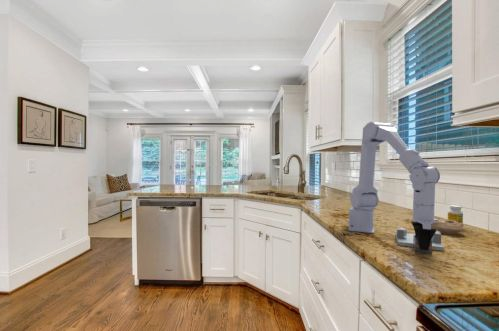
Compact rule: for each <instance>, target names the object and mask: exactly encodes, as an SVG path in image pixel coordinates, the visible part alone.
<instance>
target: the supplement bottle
mask: <svg viewBox="0 0 499 331" xmlns="http://www.w3.org/2000/svg"><path fill="white" fill-rule="evenodd" d="M447 220H453V221H456V222H459V223H462V224H464V213H463V211H462V206H460V205H456V204H455V205H453V204H450V205H449V209H448V211H447Z"/></svg>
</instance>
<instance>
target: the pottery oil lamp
mask: <svg viewBox="0 0 499 331" xmlns="http://www.w3.org/2000/svg"><path fill="white" fill-rule="evenodd" d="M464 226H465V225H464V223H463V224H462V223H459V222H456V221H453V220H448V219H447V220H439V222H434V223H432V225H431V228H432V229H436V231H439V232H440V233H441V234H445V235H455V234H458V233H461V232H462V231H464V230H465V229H466V228H465V227H464Z"/></svg>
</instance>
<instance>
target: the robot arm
mask: <svg viewBox="0 0 499 331" xmlns="http://www.w3.org/2000/svg"><path fill="white" fill-rule="evenodd" d="M397 129H398V128H396V127H395V126H394V125H393V123H392V122H390V123H389V122H385V123H384V122H373V121H369V122H367V123H366V124H365V126H363V128H362V136H361V137H362V138H361V139H362V140H361V147H360V148H361V150H360V161H359V162H360V163H359V175H358V176H359V177H358V180H359V181H358V184H357V185H356V186H355V187H353V189H352V193H351V195H350V198H349V201H350V205H351V207H349V211H348V223H347V224H348V231H351V232H359V233H360V232H361V233H367V234H375V227H374V218H375V217H374V213H375V212H374V210H375V209H376V207H377V206H378V204H379V201H380V199H379V195H378V192H379V191H378V189H377V188H376V187H375V186H374V178H375V165H376V153H377V152H376V151H377V147H378V146H379V145H380V144H382V143H385V142H387V143H388V144H389V145H390V147H392V149H393V150H394V151H395V152H396V153H397V154H398V155H399V157H398V160H399V162H400V163H401V164H402V165H403V167H404V168H405V169H406V170H407V171H408V173H409V175H408V177H409V180H410V182H411V184H412V186H411V188H412V189H413V196H412V197H413V204H412V217H411V220H412V221H411V222H410V223H411V224H412V227H413V230H414V234H415V235H418V241H419V247H420V250H427V251H428V249H429V246H430V243H431V240H432V237H433V235H434V234H435V233H436V231H437V230H436V229H432V228H431V225H432V223H434V222H439V221H440V220H439V219H438V218H435V202H436V199H435V198H436V184H437V183H439V181H440V178H441V173H440V170H438V168H437V167H436V166H432V165H430V164H429V163H428V161H426V160H425V159H423V157H422V156H421V155H420V151H419V150H415V149H413V148H411V149H410V148H409V147H408V146H407V144H406V143H405V141H404V140H403V139H402V138H401V135H399V133H398V130H397Z"/></svg>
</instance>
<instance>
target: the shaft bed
mask: <svg viewBox="0 0 499 331" xmlns="http://www.w3.org/2000/svg"><path fill="white" fill-rule="evenodd" d="M414 235H415V233H408V230H407V228H405V227H399V226H396V231H395V238H396V242H397V245H398V246H403V247H410V248H413V238H414ZM432 251H441V252H444V251H445V246H444V245H443V244H442V232H441V231H437V230H436V233H435V234H434V235H433V237H432Z"/></svg>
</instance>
